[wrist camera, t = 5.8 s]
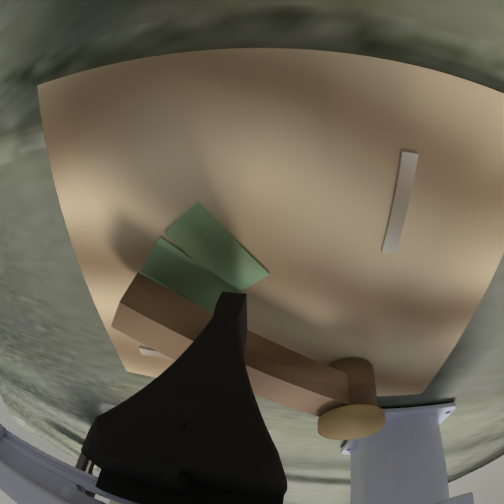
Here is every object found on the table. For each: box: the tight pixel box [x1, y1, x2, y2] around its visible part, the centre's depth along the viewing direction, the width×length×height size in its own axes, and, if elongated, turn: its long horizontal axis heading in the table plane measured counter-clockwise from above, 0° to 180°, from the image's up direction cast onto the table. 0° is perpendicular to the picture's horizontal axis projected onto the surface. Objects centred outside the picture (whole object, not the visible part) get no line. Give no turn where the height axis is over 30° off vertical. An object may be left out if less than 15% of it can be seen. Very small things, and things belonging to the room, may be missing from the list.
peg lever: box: [111, 272, 386, 440], centre depth 13 cm, size 14×3×4 cm, turn 59°
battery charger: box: [75, 451, 95, 498], centre depth 36 cm, size 7×4×11 cm, turn 139°
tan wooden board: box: [37, 48, 504, 396], centre depth 13 cm, size 18×20×1 cm
